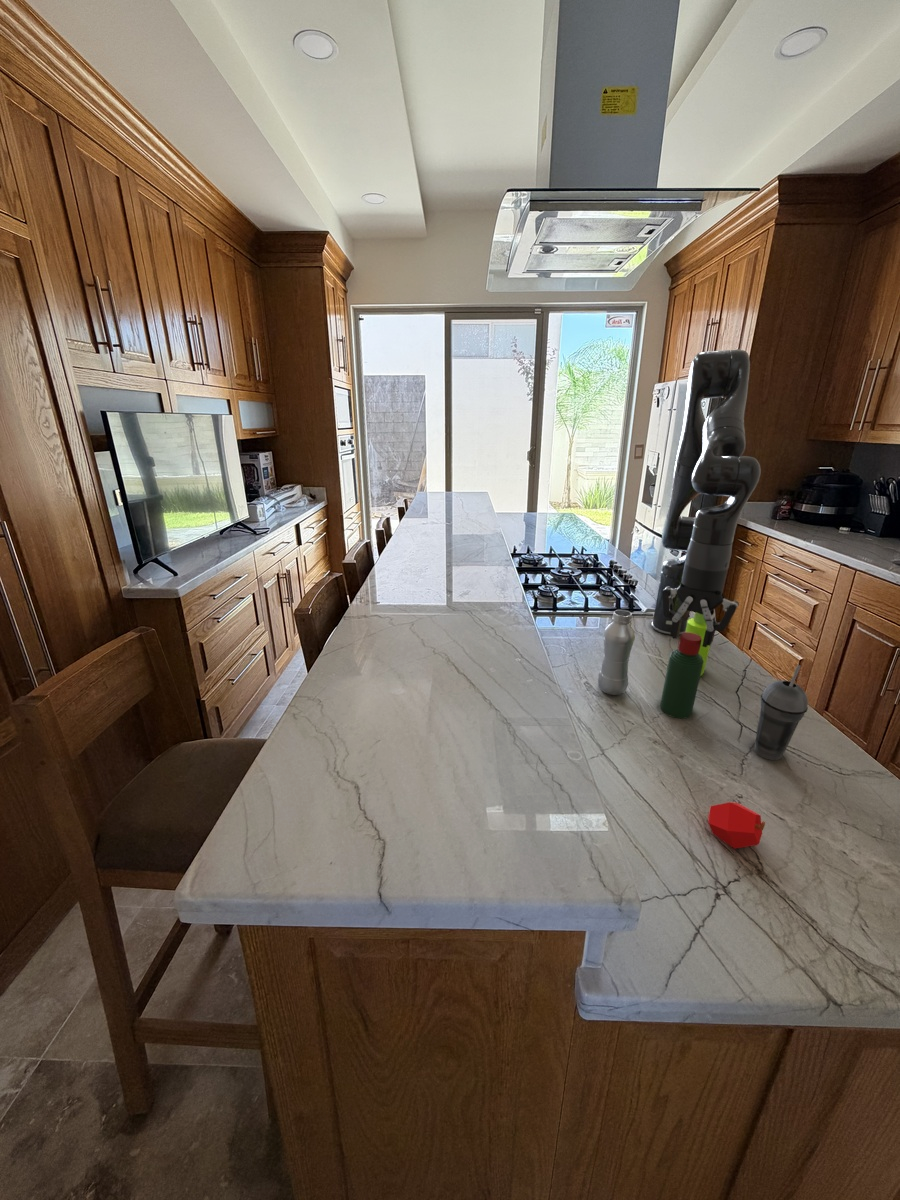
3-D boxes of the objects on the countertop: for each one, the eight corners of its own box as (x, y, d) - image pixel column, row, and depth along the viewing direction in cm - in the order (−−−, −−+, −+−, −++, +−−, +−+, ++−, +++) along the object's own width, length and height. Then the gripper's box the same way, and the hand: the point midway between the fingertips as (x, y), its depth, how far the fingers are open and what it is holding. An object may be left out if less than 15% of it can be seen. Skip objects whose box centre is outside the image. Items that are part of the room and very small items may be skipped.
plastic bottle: (628, 700, 109) (641, 620, 101) (597, 696, 111) (608, 618, 103) (624, 684, 115) (637, 608, 107) (595, 681, 116) (605, 605, 109)
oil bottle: (665, 697, 110) (679, 628, 103) (695, 708, 106) (711, 637, 100) (655, 710, 106) (669, 639, 99) (686, 722, 102) (703, 649, 95)
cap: (681, 644, 103) (684, 630, 102) (700, 650, 101) (703, 635, 99) (675, 651, 100) (678, 637, 99) (695, 657, 98) (698, 642, 96)
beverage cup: (782, 743, 96) (812, 654, 88) (796, 768, 89) (829, 675, 81) (741, 737, 97) (766, 649, 90) (752, 761, 91) (780, 669, 83)
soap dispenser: (681, 676, 118) (697, 601, 110) (676, 662, 124) (690, 590, 117) (707, 679, 117) (725, 604, 109) (700, 665, 123) (717, 592, 115)
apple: (697, 804, 75) (757, 816, 69) (711, 788, 79) (768, 797, 74) (703, 848, 75) (763, 863, 69) (717, 829, 79) (774, 842, 74)
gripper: (753, 565, 91) (733, 645, 98) (674, 551, 100) (660, 625, 106) (744, 576, 86) (724, 659, 93) (661, 560, 94) (648, 637, 101)
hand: (690, 641), depth 99 cm, fingers open, 5 cm apart
